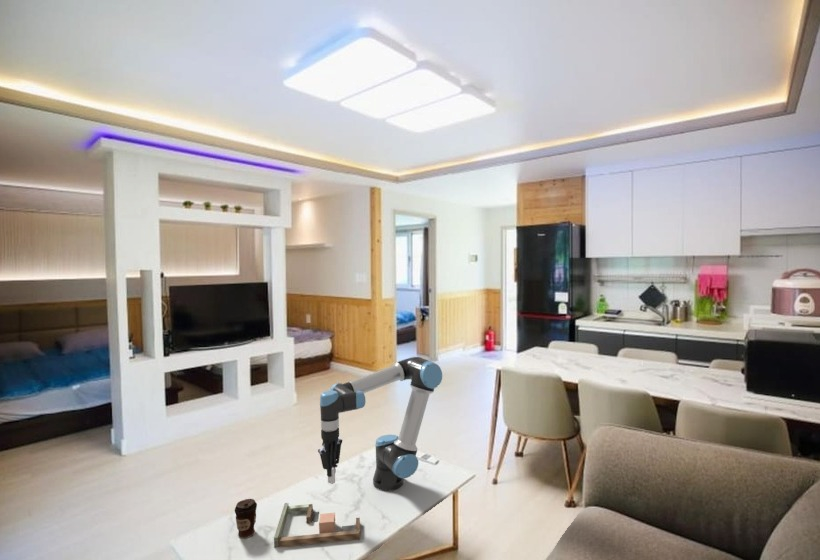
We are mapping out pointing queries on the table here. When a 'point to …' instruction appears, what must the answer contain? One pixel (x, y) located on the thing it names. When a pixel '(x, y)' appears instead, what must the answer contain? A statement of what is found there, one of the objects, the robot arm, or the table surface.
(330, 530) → the block
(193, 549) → the table surface
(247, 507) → the coffee cup
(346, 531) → the trap box
